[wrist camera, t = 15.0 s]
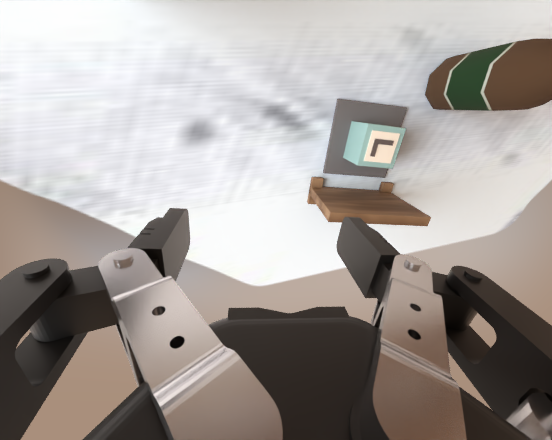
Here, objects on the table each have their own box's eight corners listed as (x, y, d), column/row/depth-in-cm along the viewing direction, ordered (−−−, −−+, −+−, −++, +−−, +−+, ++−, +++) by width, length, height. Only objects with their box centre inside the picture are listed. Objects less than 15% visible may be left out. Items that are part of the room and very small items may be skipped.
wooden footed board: (311, 176, 42) (333, 200, 32) (390, 182, 45) (435, 206, 34) (307, 201, 45) (326, 232, 34) (383, 206, 47) (422, 235, 36)
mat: (337, 99, 37) (338, 98, 36) (404, 107, 39) (407, 107, 38) (323, 172, 42) (324, 173, 42) (383, 176, 44) (384, 177, 43)
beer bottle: (413, 99, 38) (621, 93, 17) (443, 46, 35) (740, -41, 14) (448, 118, 40) (672, 132, 19) (478, 69, 37) (785, 22, 16)
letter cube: (351, 121, 38) (369, 123, 33) (384, 125, 39) (407, 128, 33) (343, 157, 41) (358, 165, 35) (374, 160, 42) (393, 169, 36)
